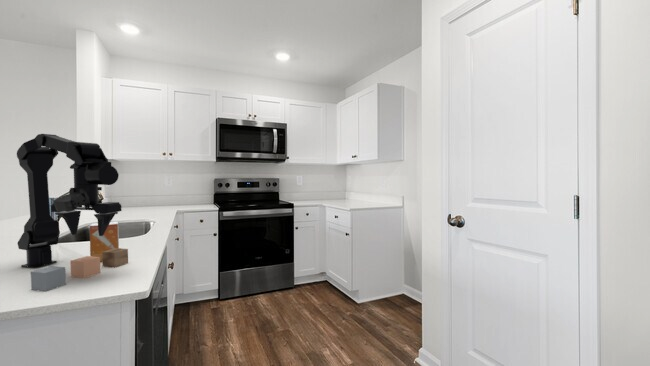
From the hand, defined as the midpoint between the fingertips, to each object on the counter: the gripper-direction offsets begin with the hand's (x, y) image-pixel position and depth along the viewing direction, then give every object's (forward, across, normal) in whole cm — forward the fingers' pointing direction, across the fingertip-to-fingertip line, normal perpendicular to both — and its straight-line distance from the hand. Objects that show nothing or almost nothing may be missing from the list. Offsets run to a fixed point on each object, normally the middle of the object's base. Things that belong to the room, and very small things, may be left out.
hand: (87, 235), depth 92 cm
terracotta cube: (+12, 0, -1) cm, 12 cm away
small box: (+12, -8, +14) cm, 20 cm away
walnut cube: (+12, +1, +9) cm, 15 cm away
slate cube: (+12, -1, -11) cm, 16 cm away
